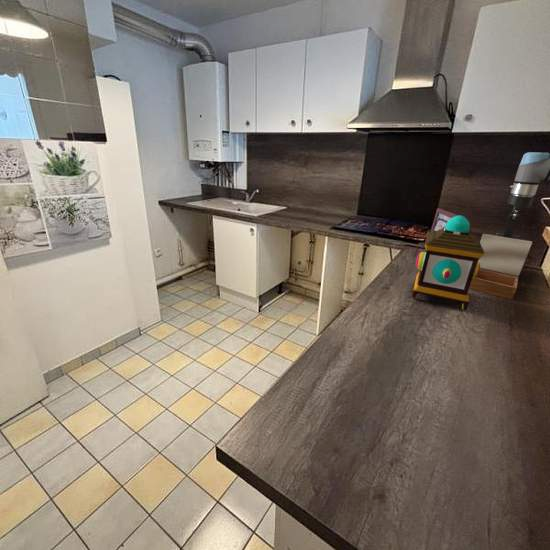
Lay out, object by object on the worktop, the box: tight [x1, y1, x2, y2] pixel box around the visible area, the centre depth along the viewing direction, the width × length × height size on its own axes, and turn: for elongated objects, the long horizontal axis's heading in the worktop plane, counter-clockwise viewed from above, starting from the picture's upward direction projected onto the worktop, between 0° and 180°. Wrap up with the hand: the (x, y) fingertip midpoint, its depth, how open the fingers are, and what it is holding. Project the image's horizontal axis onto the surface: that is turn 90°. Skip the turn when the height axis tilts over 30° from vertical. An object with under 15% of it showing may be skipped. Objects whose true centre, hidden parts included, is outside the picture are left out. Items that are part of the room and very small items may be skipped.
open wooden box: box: [469, 268, 519, 301], centre depth 116 cm, size 14×16×5 cm
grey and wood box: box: [478, 232, 533, 277], centre depth 119 cm, size 14×16×10 cm
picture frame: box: [424, 207, 459, 252], centre depth 136 cm, size 17×10×25 cm, turn 178°
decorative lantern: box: [411, 214, 484, 311], centre depth 103 cm, size 20×20×30 cm
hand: (501, 252), depth 122 cm, fingers open, 3 cm apart
